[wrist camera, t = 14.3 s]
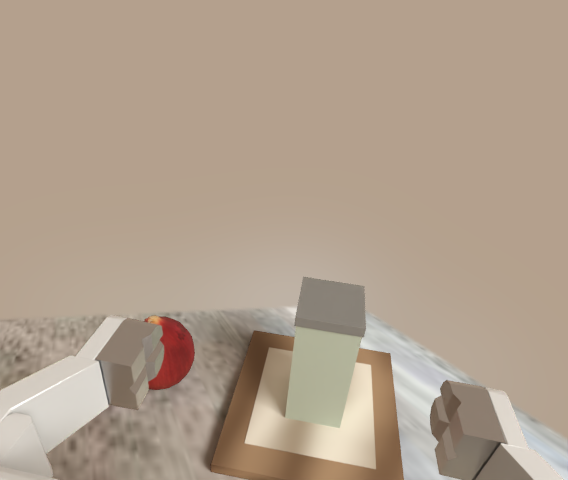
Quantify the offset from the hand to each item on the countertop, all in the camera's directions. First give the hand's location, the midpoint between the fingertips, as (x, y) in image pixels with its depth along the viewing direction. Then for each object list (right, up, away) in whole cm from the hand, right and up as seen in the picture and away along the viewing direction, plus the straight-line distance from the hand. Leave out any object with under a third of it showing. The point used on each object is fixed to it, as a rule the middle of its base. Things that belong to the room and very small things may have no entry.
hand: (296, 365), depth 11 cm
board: (+2, -11, +23) cm, 25 cm away
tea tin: (+2, -10, +22) cm, 25 cm away
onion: (-11, -9, +24) cm, 28 cm away
